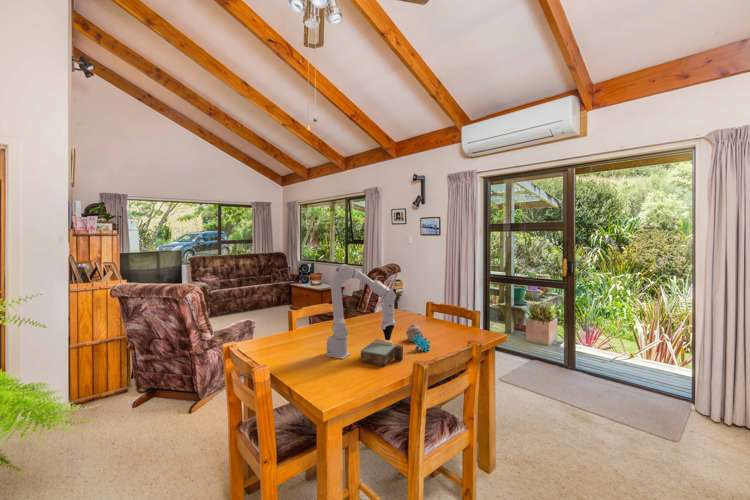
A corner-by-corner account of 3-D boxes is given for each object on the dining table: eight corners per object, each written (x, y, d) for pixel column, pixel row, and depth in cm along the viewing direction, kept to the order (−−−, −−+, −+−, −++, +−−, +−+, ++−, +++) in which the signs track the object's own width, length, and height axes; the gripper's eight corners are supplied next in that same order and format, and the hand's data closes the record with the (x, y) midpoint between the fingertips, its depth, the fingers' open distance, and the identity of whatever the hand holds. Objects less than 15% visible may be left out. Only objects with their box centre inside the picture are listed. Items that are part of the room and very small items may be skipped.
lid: (360, 352, 162) (360, 347, 162) (373, 342, 176) (373, 337, 176) (385, 356, 157) (385, 351, 157) (396, 346, 171) (396, 341, 171)
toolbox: (360, 362, 162) (360, 352, 162) (373, 352, 176) (373, 343, 176) (384, 366, 158) (385, 356, 157) (396, 355, 171) (396, 346, 171)
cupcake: (420, 344, 189) (421, 326, 189) (403, 342, 192) (404, 324, 192) (423, 339, 198) (424, 321, 198) (407, 337, 201) (408, 320, 201)
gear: (419, 351, 174) (412, 333, 180) (412, 357, 177) (405, 339, 183) (435, 350, 180) (427, 333, 186) (428, 356, 183) (421, 338, 189)
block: (400, 361, 164) (400, 347, 164) (394, 360, 165) (394, 347, 165) (402, 359, 167) (403, 346, 166) (396, 358, 168) (397, 345, 168)
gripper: (390, 317, 168) (390, 345, 169) (400, 310, 181) (399, 336, 182) (377, 315, 170) (376, 343, 171) (387, 309, 184) (387, 335, 185)
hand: (387, 339), depth 177 cm, fingers closed
